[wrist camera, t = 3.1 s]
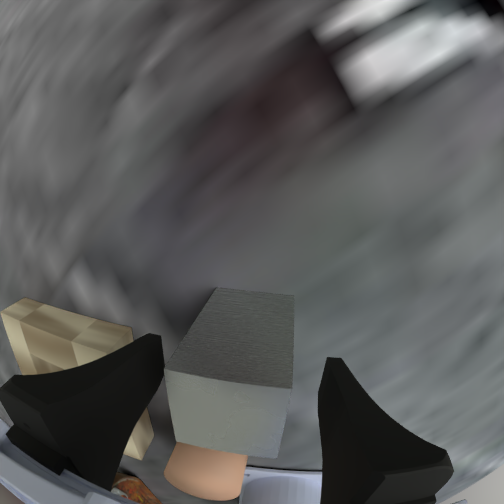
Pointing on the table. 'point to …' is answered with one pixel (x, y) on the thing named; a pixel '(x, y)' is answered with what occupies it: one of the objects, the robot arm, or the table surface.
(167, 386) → the square peg
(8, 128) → the table surface
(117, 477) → the tin
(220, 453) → the round peg
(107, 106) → the table surface
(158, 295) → the table surface
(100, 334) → the bore block
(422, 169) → the table surface
